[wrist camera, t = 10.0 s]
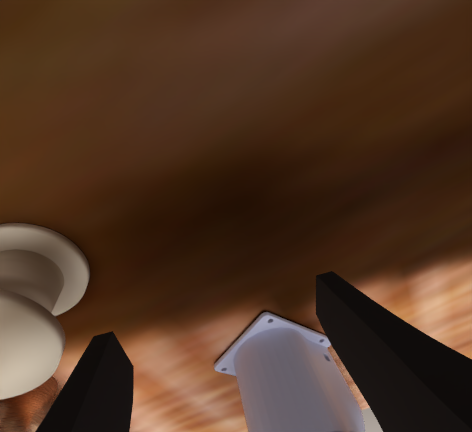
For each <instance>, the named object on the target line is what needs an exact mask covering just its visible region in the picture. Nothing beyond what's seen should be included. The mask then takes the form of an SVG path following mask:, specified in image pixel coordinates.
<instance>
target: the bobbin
mask: <svg viewBox="0 0 472 432" xmlns="http://www.w3.org/2000/svg"><path fill="white" fill-rule="evenodd" d="M89 277H90V268H89V264H88V261H87V259H86V257H85V255H84V254H83V252H82V251H81V250H80V249H79V247H78V246H77V245H76V244H74V243H73V242H72V241H71V240H69V239H68V238H67V237H65V236H63V235H62V234H60V233H58V232H55V231H53V230H51V229H48V228H45V227H42V226H38V225H33V224H26V223H6V224H0V400H1V399H6V398H10V397H14V396H18V395H21V394H24V393H26V392H28V391H31V390H33V389H35V388H36V387H38V386H40V385H41V384H43V383H44V382H46V381H47V380H48V379H49V378H50V377H51V376H52V375H53V373H54V372H55V371H56V369H57V367H58V365H59V362H60V359H61V356H62V354H63V351H64V347H65V333H64V331H63V328H62V326H61V324H60V323H59V321H58V320H57V319H56V317H55V316H56V315H59V314H61V313H64V312H65V311H67V310H69V309H71V308H72V307H73V306H75V305H76V304H77V303H78V302H79V301H80V299H81V298H82V296H83V295H84V293H85V290H86V287H87V285H88V282H89Z"/></svg>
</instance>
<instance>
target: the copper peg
mask: <svg viewBox="0 0 472 432" xmlns="http://www.w3.org/2000/svg"><path fill="white" fill-rule="evenodd" d="M56 389H57V382H56V380H55V379H54V378H53V377H52V376H51V377H50V378H49V379H48V380H47V381H46V382H44V383H43V384H41V385H40V386H38V387H36V388H35V389H33V390H31V391H28V392H26V393H24V394H21V395H18V396H14V397H10V398H6V399H1V400H0V432H35V431H36V430H37V428H38V427H39V425H40V424H41V422H42V420H43V419H44V417H45V416H46V414H47V413H48V411H49V409H50V407H51V404H52V401H53V398H54V395H55V392H56Z"/></svg>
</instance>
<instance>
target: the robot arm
mask: <svg viewBox="0 0 472 432" xmlns="http://www.w3.org/2000/svg"><path fill="white" fill-rule="evenodd" d="M316 315H317V317H318V319H319V321H320V323H321V325H322V328H323V330H324V332H325V334H326V335H323V334H321V333H318V332H316V331H313V330H311V329H308V328H306V327H303V326H301V325H298V324H296V323H293V322H291V321H288V320H286V319H284V318H281V317H279V316H276V315H274V314H271V313H269V312H264V313H262V314H261V315H260V316H259V317H258V318H257V319H256V320H255V321H254V323H253V324H252V325H251V326H250V327H249V328H248V329H247V330H246V331H245V332H244V333H243V334H242V335H241V336H240V338H239V339H238V340H237V341H236V342H235V343H234V344H233V345H232V346H231V347H230V348H229V349H228V350H227V351H226V352H225V354H224V355H223V356H222V357H221V358H220V359H219V360H218V361H217V362H216V363H215V364H214V370H215V371H218V372H222V373H226V374H230V375H234V376H236V377H237V382H238V386H239V391H240V395H241V400H242V404H243V409H244V414H245V418H246V423H247V427H248V432H365V425H364V419H363V415H362V412H361V409H360V407H359V404H358V403H357V401H356V399H355V397H354V395H353V394H352V392H351V390H350V388H349V386H348V385H347V383H346V381H345V379H344V377H343V376H342V374H341V372H340V370H339V369H338V367H337V365H336V363H335V361H334V360H333V358H332V356H331V354H330V352H329V351H328V349H327V348H328V347H329V346H330V345H332V347H333V348H334V350H335V351H336V353H337V355H338V356H339V358H340V360H341V361H342V363H343V364H344V366H345V368H346V369H347V371H348V372H349V374H350V376H351V377H352V379H353V380H354V382H355V384H356V385H357V387H358V388H359V390H360V392H361V393H362V395H363V396H364V398H365V400H366V401H367V403H368V405H369V406H370V408H371V410H372V412H373V413H374V415H375V417H376V418H377V420H378V422H379V424H380V426H381V428H382V430H383V432H472V359H470V358H468V357H466V356H464V355H462V354H460V353H459V352H457V351H455V350H453V349H451V348H449V347H447V346H445V345H444V344H442V343H440V342H438V341H437V340H435V339H433V338H431V337H430V336H428V335H426V334H425V333H423V332H421V331H420V330H418V329H416V328H415V327H413V326H412V325H410V324H408V323H407V322H405V321H404V320H402V319H400V318H399V317H397V316H396V315H394V314H393V313H391V312H390V311H388V310H387V309H385V308H384V307H382V306H381V305H379V304H378V303H376V302H375V301H373V300H372V299H370V298H369V297H368V296H366V295H365V294H363V293H362V292H360V291H359V290H358V289H356V288H355V287H353V286H352V285H351V284H349V283H348V282H347V281H345V280H344V279H342V278H341V277H340V276H338V275H337V274H335V273H334V272H332V271H331V272H328V273H324V274H320V275H317V276H316ZM132 405H133V365H132V363H131V362H130V360H129V358H128V357H127V355H126V353H125V351H124V350H123V348H122V346H121V345H120V343H119V341H118V340H117V338H116V336H115V334H114V333H113V331H112V332H108V333H105V334H101V335H97V336H94V337H93V339H92V340H91V342H90V343H89V345H88V347H87V348H86V350H85V352H84V353H83V355H82V357H81V358H80V360H79V362H78V363H77V365H76V367H75V368H74V370H73V372H72V374H71V375H70V377H69V379H68V380H67V382H66V384H65V385H64V387H63V388H62V390H61V392H60V393H59V395H58V396H57V398H56V400H55V401H54V403H53V405H52V406H51V408H50V409H49V411H48V413H47V414H46V416H45V417H44V419H43V420H42V422H41V424H40V425H39V427H38V428H37V430H36V431H35V432H129V430H130V421H131V413H132Z"/></svg>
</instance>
